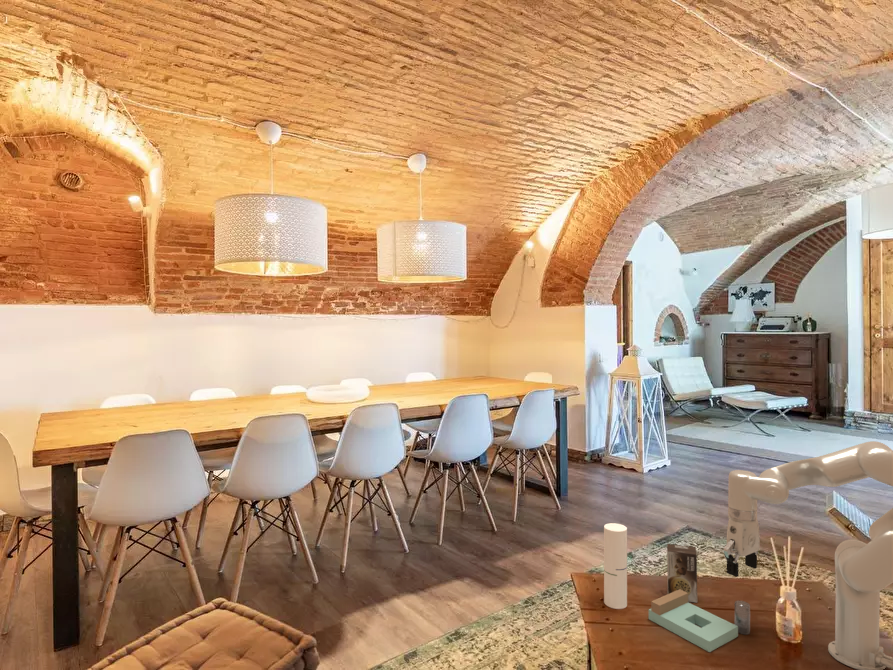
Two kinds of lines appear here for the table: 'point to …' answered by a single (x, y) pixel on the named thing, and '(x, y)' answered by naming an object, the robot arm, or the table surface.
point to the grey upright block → (742, 617)
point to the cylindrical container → (615, 565)
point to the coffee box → (682, 570)
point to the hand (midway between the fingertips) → (741, 570)
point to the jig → (691, 621)
